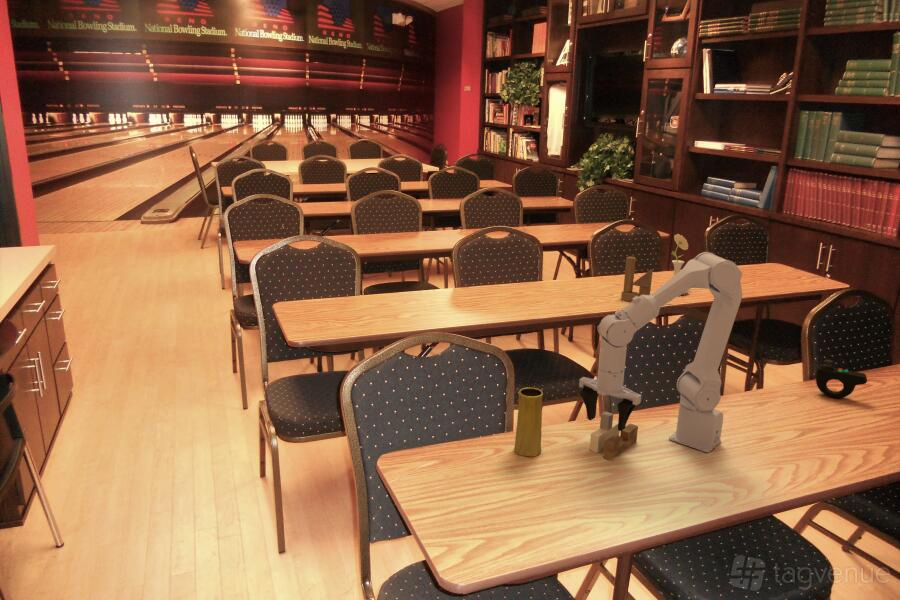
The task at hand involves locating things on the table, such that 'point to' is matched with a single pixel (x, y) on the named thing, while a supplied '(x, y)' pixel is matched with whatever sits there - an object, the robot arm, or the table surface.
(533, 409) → the vase
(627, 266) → the wooden block
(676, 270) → the flower in vase
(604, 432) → the burr puzzle piece
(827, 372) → the controller
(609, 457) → the walnut slotted plate
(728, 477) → the table surface
